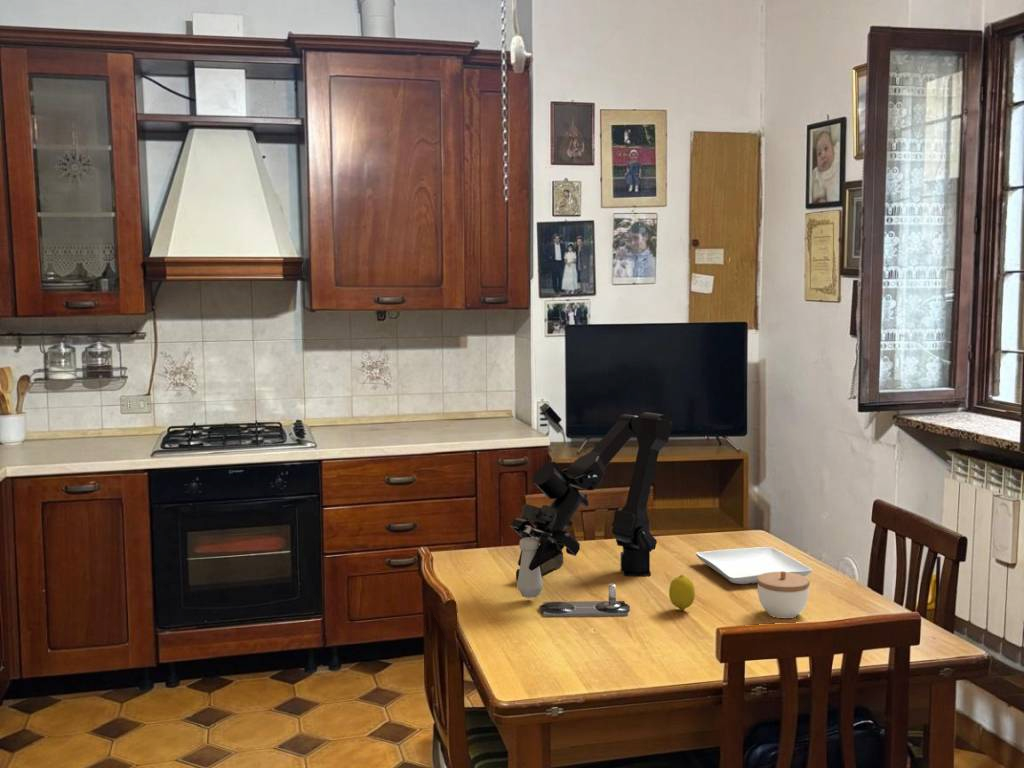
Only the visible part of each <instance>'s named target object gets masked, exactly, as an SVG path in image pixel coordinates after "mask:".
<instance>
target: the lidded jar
mask: <svg viewBox="0 0 1024 768" xmlns="http://www.w3.org/2000/svg"><path fill="white" fill-rule="evenodd" d="M756 584H757V595H758V600H759V602H760V605H761V607H762V608H763V609H764V611H766V612H767V615H768V614H769V615H768V616H770V615H771V616H774V617H777V618H776V619H779V618H792V619H795V618H797V617H798V615H800V614H801V612H802V611H803V610H804V609H805V607H806V605H807V604H808V603H807V602H808V598H809V592H810V591H809V589H810V588H809V587H810V580H809V579H808V578H807V577H806V576H802V575H799V574H795V573H789V572H785V571H781V572H769V573H764V574H761V575H759V576H758V578H757V583H756ZM771 616H770V617H771ZM796 616H797V617H796ZM774 617H773V618H774ZM794 617H795V618H794Z"/></svg>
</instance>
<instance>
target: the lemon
mask: <svg viewBox="0 0 1024 768" xmlns="http://www.w3.org/2000/svg"><path fill="white" fill-rule="evenodd" d="M668 595H669V600H670V602H671V604H672V605H673V606H674V607H675V608H678V609H679V610H680V611H682V612H683V611H684V610H686V609H687V608H689V607H691V606H692V604H693V603H694V601H695V598H696V589H695V585H694V582H693V581H692V580H691V579H690V578H689V577H688V576H685V575H684V574H680V575H678V576H676V577H675V578H674V579H672V580H671V582H670V585H669V590H668Z"/></svg>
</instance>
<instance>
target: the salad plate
mask: <svg viewBox="0 0 1024 768" xmlns="http://www.w3.org/2000/svg"><path fill="white" fill-rule="evenodd" d="M695 556H696V558H698V559H699V560H700V561H701V562H703V564H705V565H706V566H708V567H710V568H711V569H713V570H714V571H715V572H716V573H718V574H720V575H721V576H722V577H724V578H726V580H728V581H729V582H731V583H733V584H735V585H750V584H749V583H752V584H758V583H757V578H758V576H759V575H761V574H764V573H769V572H781V571H785V572H789V573H795V574H799V575H802V576H804V577H806V576H808V575H810V574H812V572H813V568H811V567H809V566H807V565H805V564H803V562H800V561H798V560H797V559H795V558H793V557H792V556H790V555H788V554H785V552H783V551H780V550H779V549H777V548H775V547H773V546H760V547H758V546H757V547H744V548H729V549H728V548H727V549H715V550H708V551H697V552H695Z"/></svg>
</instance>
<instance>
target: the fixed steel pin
mask: <svg viewBox="0 0 1024 768" xmlns="http://www.w3.org/2000/svg"><path fill="white" fill-rule="evenodd" d="M608 601H609V602H606V603H604V608H606V609H609V610H616V609H619V608H621V604H620V603H618V602H616V601H617V585H616V584H615V583H609V584H608Z"/></svg>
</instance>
